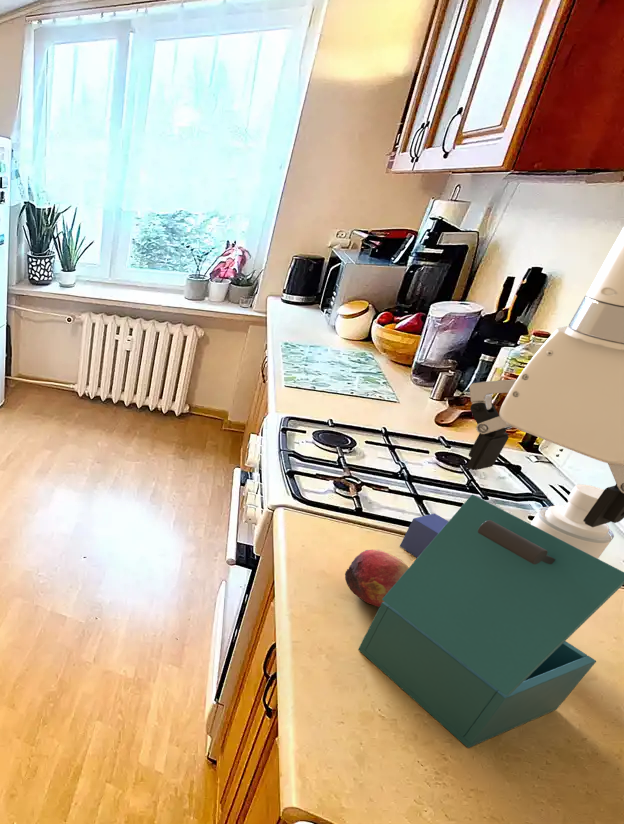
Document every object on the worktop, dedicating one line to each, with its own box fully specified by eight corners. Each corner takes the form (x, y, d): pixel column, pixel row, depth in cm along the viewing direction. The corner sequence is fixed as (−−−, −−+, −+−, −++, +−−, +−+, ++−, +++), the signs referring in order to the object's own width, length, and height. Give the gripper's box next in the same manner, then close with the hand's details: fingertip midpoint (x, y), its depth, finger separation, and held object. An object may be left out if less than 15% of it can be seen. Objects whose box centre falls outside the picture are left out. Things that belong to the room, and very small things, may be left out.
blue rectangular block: (399, 546, 89) (413, 518, 86) (420, 540, 90) (434, 513, 87) (442, 574, 83) (458, 545, 80) (463, 568, 84) (480, 539, 82)
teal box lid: (474, 495, 61) (452, 485, 58) (632, 576, 49) (613, 568, 47) (384, 600, 66) (360, 595, 63) (508, 695, 54) (485, 694, 52)
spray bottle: (469, 624, 74) (562, 479, 63) (478, 601, 78) (567, 460, 67) (532, 655, 70) (645, 505, 58) (538, 629, 73) (645, 483, 62)
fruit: (407, 626, 73) (431, 585, 70) (345, 611, 76) (365, 570, 72) (390, 588, 80) (411, 548, 76) (333, 575, 82) (351, 535, 79)
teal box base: (438, 622, 74) (466, 576, 70) (556, 709, 63) (597, 661, 59) (357, 649, 70) (381, 602, 66) (467, 748, 58) (505, 698, 54)
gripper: (830, 357, 37) (679, 541, 45) (540, 298, 52) (463, 445, 60) (778, 367, 35) (629, 558, 43) (490, 302, 50) (418, 454, 58)
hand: (533, 492), depth 51 cm, fingers open, 9 cm apart
